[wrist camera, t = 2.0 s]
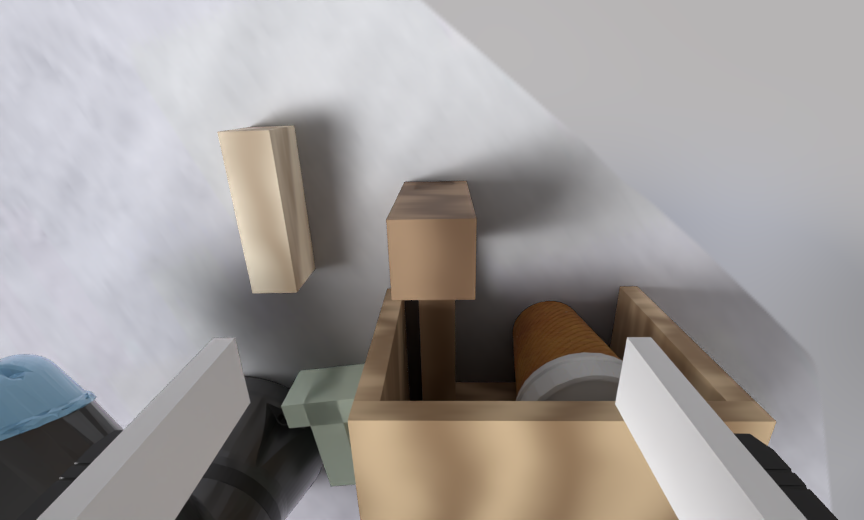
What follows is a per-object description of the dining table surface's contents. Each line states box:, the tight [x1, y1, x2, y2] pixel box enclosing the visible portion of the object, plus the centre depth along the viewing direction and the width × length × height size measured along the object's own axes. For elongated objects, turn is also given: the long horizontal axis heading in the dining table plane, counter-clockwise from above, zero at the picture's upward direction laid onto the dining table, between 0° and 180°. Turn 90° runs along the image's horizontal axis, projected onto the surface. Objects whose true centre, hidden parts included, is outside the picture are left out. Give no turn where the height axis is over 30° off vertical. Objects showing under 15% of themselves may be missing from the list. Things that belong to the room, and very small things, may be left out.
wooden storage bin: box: [348, 286, 776, 520], centre depth 31 cm, size 22×15×16 cm
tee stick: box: [281, 364, 364, 486], centre depth 39 cm, size 7×10×5 cm
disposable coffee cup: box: [512, 301, 623, 401], centre depth 32 cm, size 10×10×12 cm
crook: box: [386, 181, 517, 401], centre depth 31 cm, size 16×22×11 cm
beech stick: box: [218, 126, 315, 293], centre depth 31 cm, size 4×12×5 cm, turn 2°
